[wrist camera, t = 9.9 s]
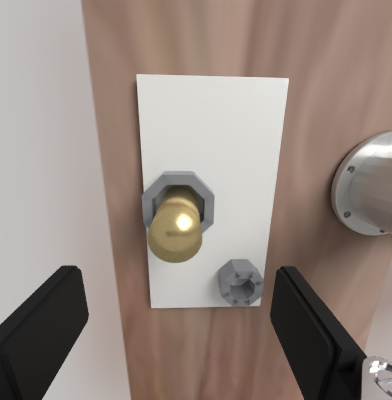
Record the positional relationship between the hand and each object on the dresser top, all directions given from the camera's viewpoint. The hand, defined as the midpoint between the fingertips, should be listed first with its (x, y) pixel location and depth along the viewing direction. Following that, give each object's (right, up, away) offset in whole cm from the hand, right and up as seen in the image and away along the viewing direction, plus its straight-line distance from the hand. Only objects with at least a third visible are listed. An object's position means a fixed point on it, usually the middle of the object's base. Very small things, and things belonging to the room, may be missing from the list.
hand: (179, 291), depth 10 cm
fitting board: (+2, +3, +15) cm, 16 cm away
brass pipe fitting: (-1, +4, +14) cm, 14 cm away
